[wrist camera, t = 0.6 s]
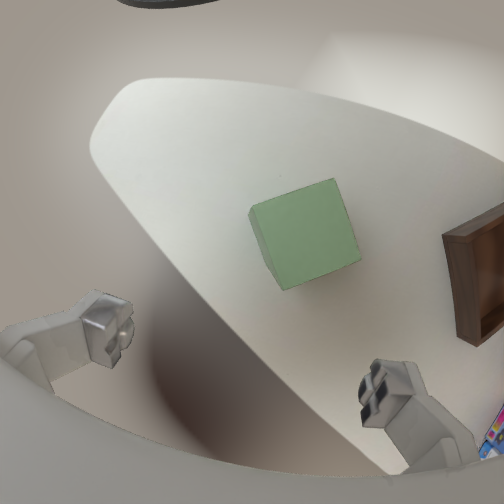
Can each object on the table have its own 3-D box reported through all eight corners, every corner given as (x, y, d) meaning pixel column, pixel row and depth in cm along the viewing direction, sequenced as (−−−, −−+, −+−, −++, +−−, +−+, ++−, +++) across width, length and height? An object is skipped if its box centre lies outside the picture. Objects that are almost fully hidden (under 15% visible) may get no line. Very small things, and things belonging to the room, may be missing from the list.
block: (247, 214, 27) (251, 206, 16) (298, 196, 27) (334, 177, 16) (266, 265, 27) (282, 291, 16) (316, 246, 27) (362, 259, 16)
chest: (456, 336, 29) (477, 347, 24) (441, 234, 28) (465, 236, 23) (526, 281, 29) (544, 286, 25) (514, 195, 28) (535, 194, 23)
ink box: (484, 441, 32) (515, 470, 20) (498, 433, 32) (529, 460, 20) (467, 470, 32) (493, 500, 21) (481, 462, 32) (507, 490, 21)
